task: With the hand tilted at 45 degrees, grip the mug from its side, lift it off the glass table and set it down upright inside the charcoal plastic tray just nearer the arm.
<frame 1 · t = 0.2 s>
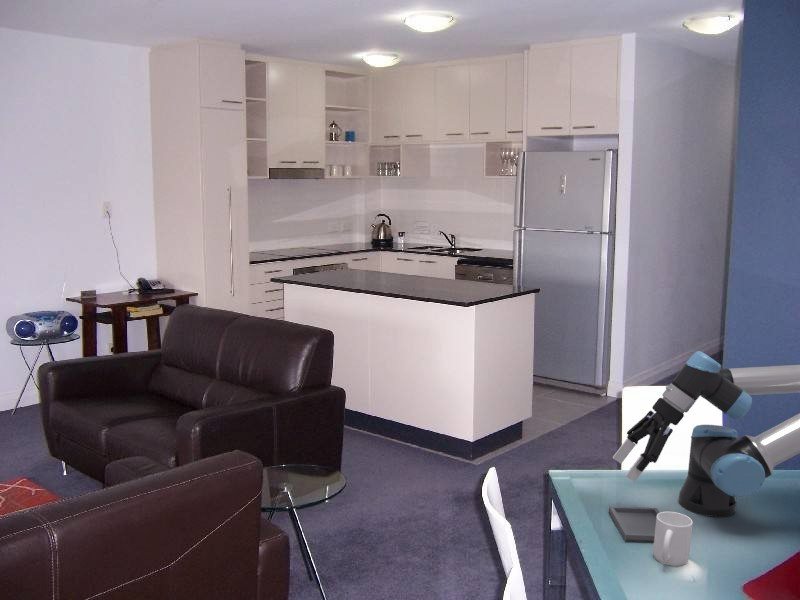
hand: (622, 469, 213), 15 cm above the table, tool tilted 35°, fingers open, 13 cm apart
mug: (668, 562, 196), on the table
tray: (641, 528, 213), on the table
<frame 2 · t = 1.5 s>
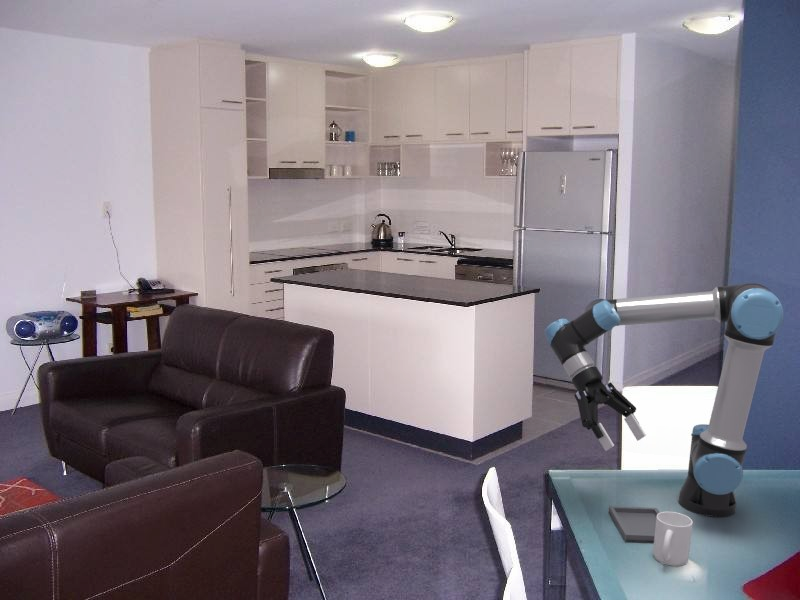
hand: (626, 443, 207), 24 cm above the table, tool tilted 45°, fingers open, 13 cm apart
nothing on the table moved.
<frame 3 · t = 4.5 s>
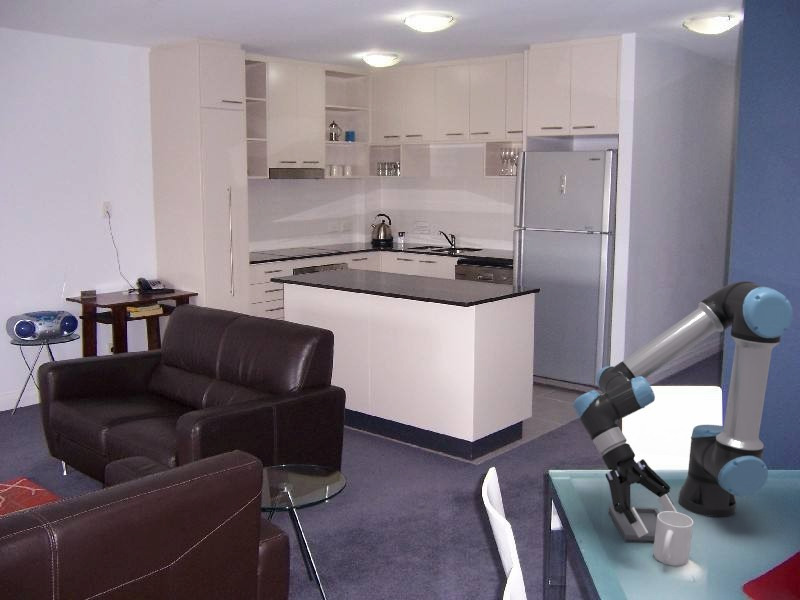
hand: (660, 527, 196), 8 cm above the table, tool tilted 45°, fingers open, 13 cm apart
mug: (668, 562, 196), on the table, touching gripper
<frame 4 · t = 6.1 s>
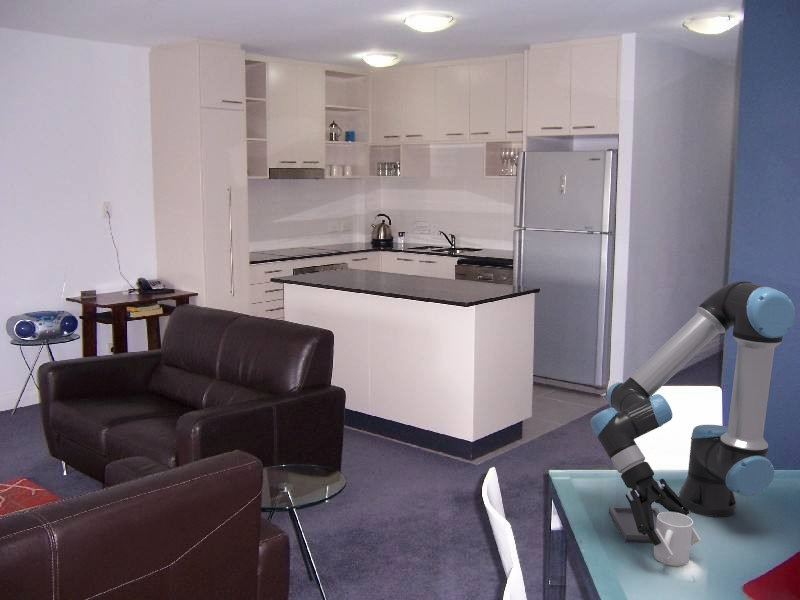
hand: (682, 549, 193), 4 cm above the table, tool tilted 45°, fingers closed on mug, 11 cm apart
mug: (668, 562, 196), on the table, touching gripper
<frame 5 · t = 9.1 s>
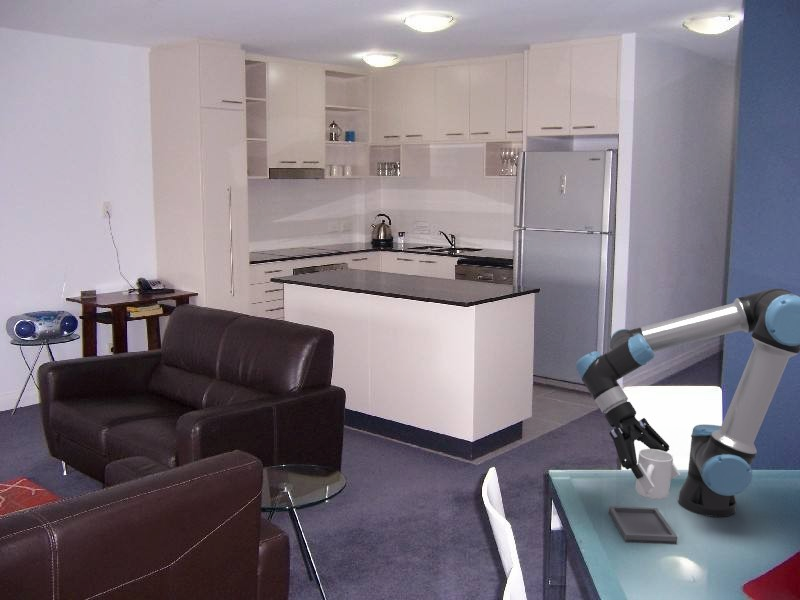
hand: (663, 483, 203), 16 cm above the table, tool tilted 45°, fingers closed on mug, 11 cm apart
mug: (649, 496, 206), point 11 cm above the table, touching gripper
when the fingers open (6 cm above the table, at t = 12.0 s): mug stays where it is, resting on tray.
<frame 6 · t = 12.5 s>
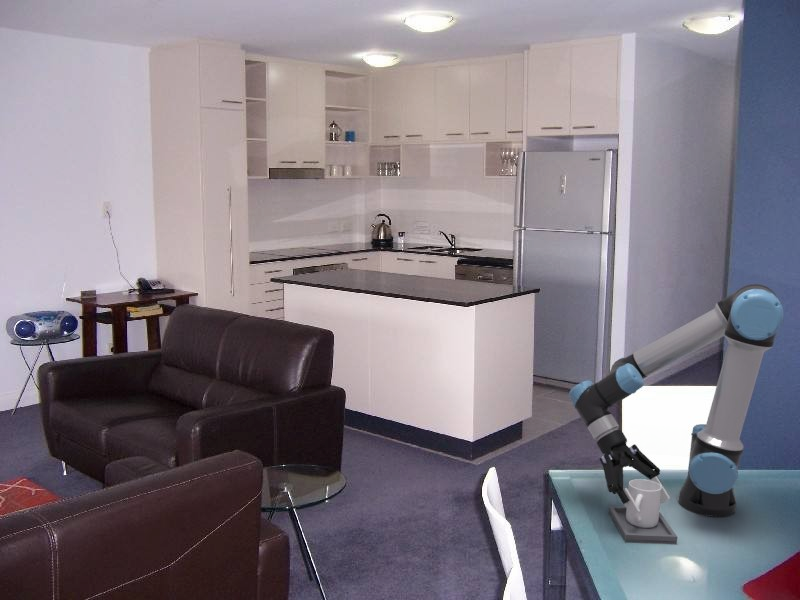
hand: (651, 507, 210), 7 cm above the table, tool tilted 45°, fingers open, 13 cm apart
mug: (639, 525, 213), point 1 cm above the table, touching tray
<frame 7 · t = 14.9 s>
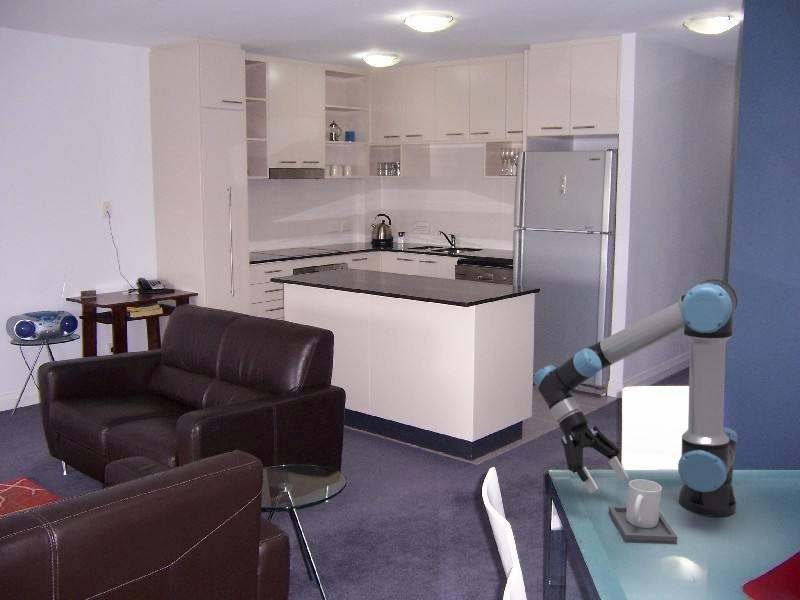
hand: (609, 485, 220), 8 cm above the table, tool tilted 45°, fingers open, 13 cm apart
nothing on the table moved.
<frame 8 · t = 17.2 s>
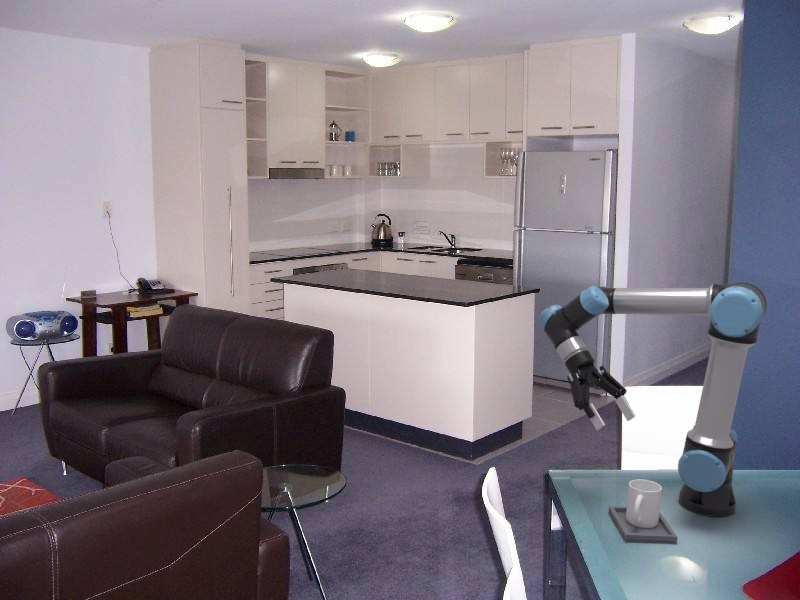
hand: (616, 423, 217), 26 cm above the table, tool tilted 45°, fingers open, 13 cm apart
nothing on the table moved.
at the end: mug inside the target area on the tray (0.4 cm from its centre), point 0.6 cm above the tray's base; mug tilted 0°; the gripper is holding nothing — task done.
